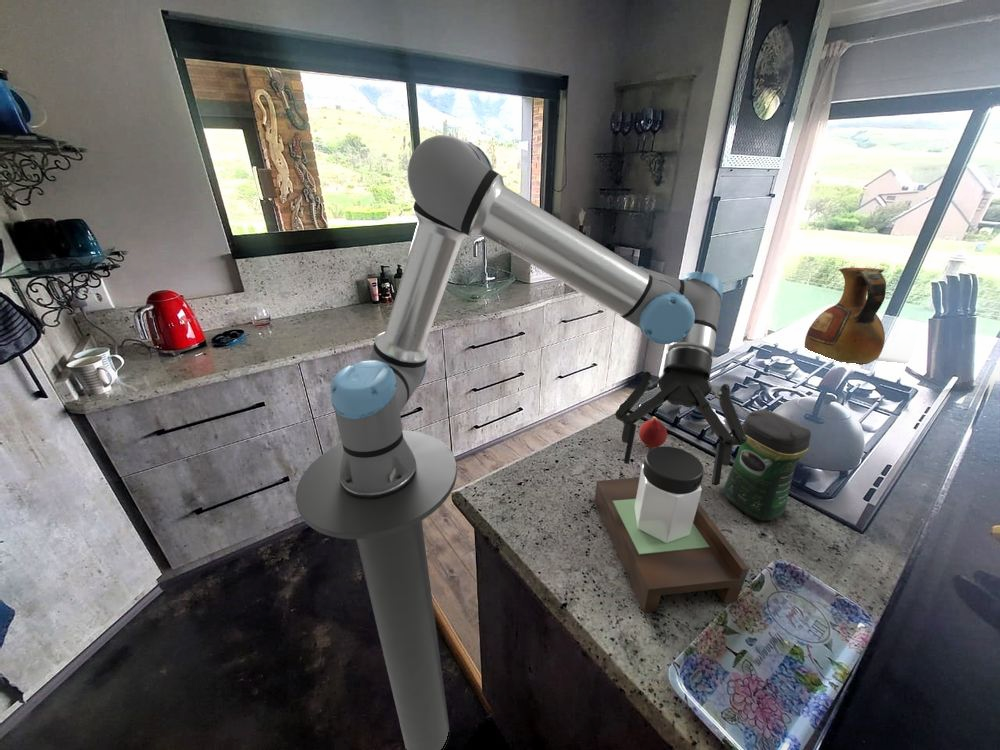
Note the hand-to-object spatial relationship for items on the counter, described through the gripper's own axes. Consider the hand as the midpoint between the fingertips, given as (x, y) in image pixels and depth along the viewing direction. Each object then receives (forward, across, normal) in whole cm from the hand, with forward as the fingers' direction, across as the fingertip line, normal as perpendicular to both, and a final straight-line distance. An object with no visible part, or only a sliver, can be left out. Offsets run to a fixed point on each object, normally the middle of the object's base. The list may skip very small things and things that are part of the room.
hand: (669, 473), depth 66 cm
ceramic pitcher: (-61, -48, -78) cm, 110 cm away
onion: (-8, +4, -25) cm, 27 cm away
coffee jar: (0, -16, -17) cm, 23 cm away
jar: (+8, 0, -2) cm, 8 cm away
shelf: (+11, 0, -5) cm, 13 cm away
